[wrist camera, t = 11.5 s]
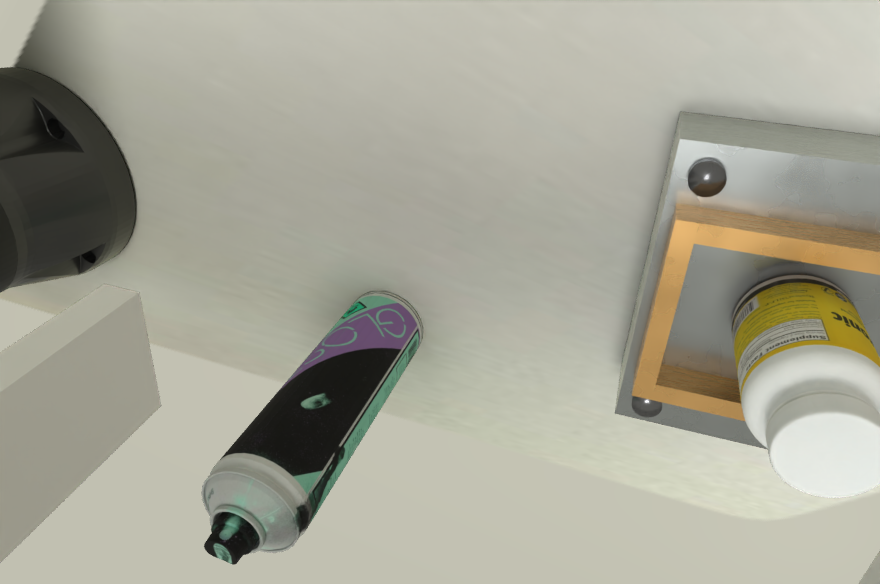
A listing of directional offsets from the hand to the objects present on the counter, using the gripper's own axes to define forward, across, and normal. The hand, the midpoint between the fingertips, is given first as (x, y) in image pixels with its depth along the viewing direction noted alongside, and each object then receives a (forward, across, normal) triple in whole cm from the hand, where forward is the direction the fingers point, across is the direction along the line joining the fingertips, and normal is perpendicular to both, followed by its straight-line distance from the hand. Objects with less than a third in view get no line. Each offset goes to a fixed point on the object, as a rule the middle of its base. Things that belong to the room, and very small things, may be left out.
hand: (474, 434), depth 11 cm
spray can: (+28, -11, -18) cm, 35 cm away
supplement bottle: (+22, +11, -8) cm, 26 cm away
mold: (+27, +11, -8) cm, 30 cm away
